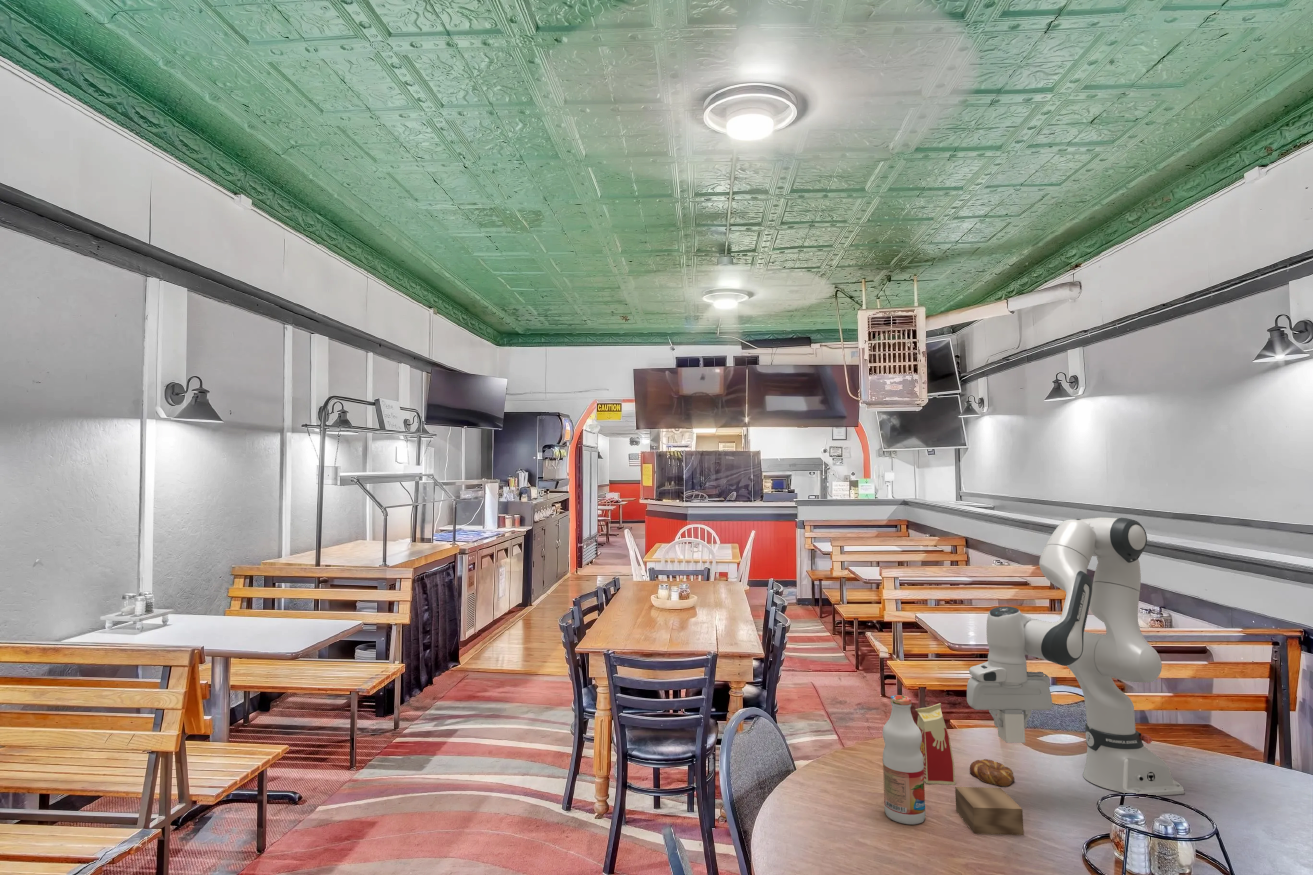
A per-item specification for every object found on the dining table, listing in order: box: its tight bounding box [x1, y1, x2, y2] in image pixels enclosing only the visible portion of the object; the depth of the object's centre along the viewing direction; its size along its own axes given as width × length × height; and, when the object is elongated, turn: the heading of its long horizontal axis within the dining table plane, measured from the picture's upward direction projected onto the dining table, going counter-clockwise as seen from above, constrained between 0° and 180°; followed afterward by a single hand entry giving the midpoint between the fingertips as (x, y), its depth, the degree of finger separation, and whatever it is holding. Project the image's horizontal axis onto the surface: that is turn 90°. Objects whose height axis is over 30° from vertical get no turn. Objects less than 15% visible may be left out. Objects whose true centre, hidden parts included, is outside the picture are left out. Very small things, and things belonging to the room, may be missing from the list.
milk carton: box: [915, 702, 956, 786], centre depth 182 cm, size 9×9×20 cm
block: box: [954, 786, 1025, 836], centre depth 156 cm, size 11×11×6 cm
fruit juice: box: [882, 694, 926, 825], centre depth 160 cm, size 9×9×28 cm
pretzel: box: [969, 758, 1015, 787], centre depth 181 cm, size 12×11×4 cm
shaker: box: [996, 709, 1026, 744], centre depth 168 cm, size 5×5×8 cm
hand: (1010, 726), depth 168 cm, fingers closed on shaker, 5 cm apart
